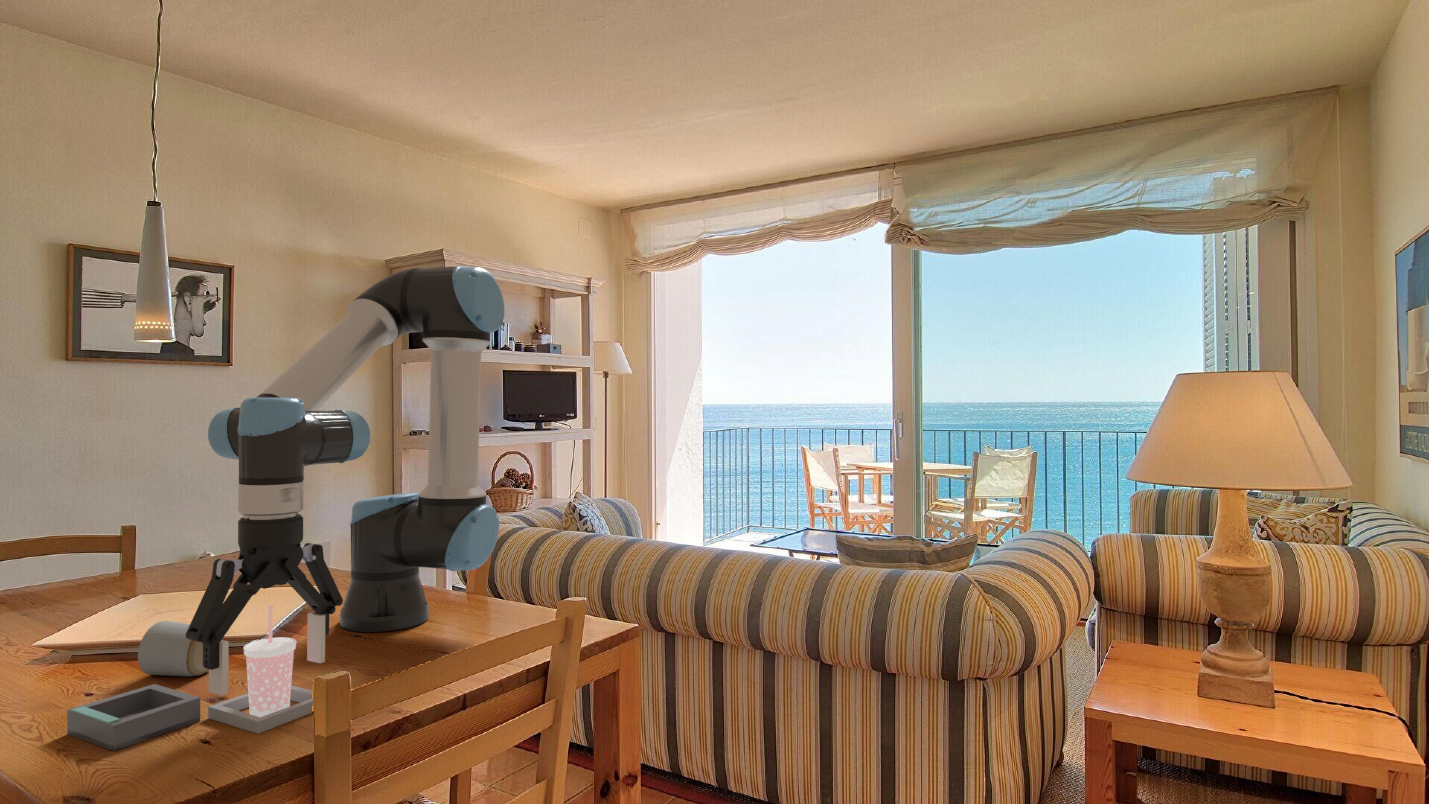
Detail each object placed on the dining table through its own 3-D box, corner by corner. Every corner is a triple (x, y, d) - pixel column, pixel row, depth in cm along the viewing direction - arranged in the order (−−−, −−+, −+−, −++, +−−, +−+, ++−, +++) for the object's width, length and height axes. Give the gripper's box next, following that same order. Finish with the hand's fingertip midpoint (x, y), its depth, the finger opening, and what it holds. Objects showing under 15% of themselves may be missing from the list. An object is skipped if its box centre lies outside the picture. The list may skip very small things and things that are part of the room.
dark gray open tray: (154, 706, 108) (154, 682, 108) (200, 720, 103) (200, 695, 103) (67, 734, 99) (67, 708, 99) (113, 751, 95) (113, 724, 94)
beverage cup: (245, 707, 108) (246, 602, 108) (297, 700, 111) (298, 598, 110) (239, 724, 103) (240, 614, 102) (294, 717, 105) (295, 609, 105)
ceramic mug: (190, 684, 116) (191, 630, 116) (135, 681, 117) (136, 628, 117) (237, 661, 127) (238, 611, 127) (187, 659, 127) (188, 610, 127)
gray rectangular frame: (280, 692, 113) (280, 682, 113) (328, 706, 109) (328, 695, 109) (208, 718, 104) (208, 706, 104) (257, 733, 100) (257, 721, 100)
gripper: (190, 531, 93) (189, 714, 94) (370, 505, 116) (368, 653, 116) (153, 525, 97) (151, 702, 97) (334, 501, 119) (333, 645, 119)
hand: (270, 676), depth 107 cm, fingers open, 13 cm apart
